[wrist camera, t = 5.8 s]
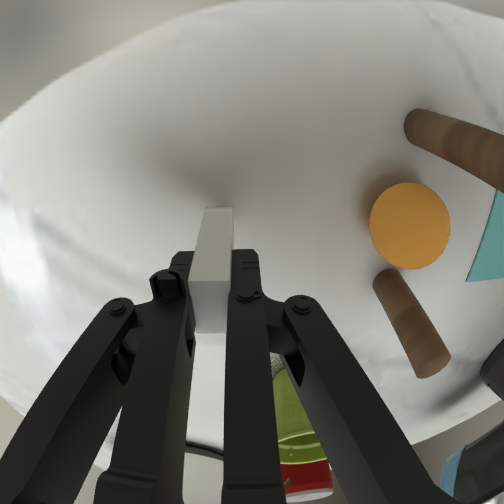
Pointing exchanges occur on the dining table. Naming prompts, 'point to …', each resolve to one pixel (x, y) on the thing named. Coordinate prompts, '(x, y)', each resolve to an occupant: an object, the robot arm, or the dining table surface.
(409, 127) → the post near
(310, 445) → the plant pot
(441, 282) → the dining table surface
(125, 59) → the dining table surface
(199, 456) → the pot
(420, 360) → the post far
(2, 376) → the dining table surface
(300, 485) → the canned food
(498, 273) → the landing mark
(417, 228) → the ball
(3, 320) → the dining table surface
